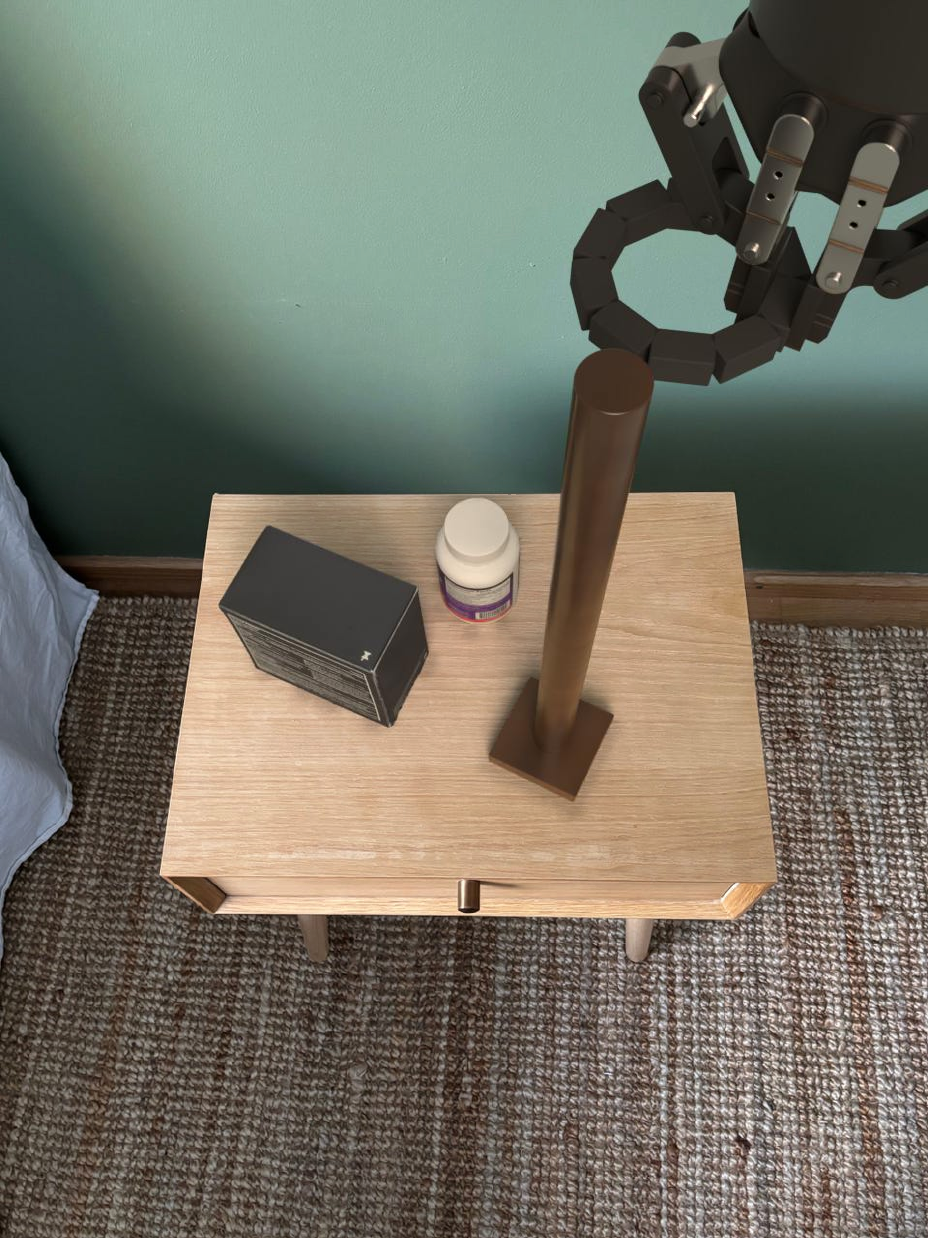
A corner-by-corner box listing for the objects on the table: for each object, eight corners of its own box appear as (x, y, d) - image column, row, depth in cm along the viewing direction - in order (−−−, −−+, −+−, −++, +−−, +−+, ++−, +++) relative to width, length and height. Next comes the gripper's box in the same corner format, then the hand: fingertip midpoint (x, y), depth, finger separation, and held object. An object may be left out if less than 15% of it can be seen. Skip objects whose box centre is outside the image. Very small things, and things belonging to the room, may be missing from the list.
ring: (831, 246, 41) (842, 220, 40) (749, 420, 38) (757, 398, 37) (628, 175, 43) (632, 148, 42) (534, 336, 40) (535, 313, 39)
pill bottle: (456, 546, 73) (451, 475, 64) (529, 569, 72) (533, 501, 63) (428, 612, 71) (418, 549, 62) (502, 637, 70) (503, 577, 61)
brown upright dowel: (612, 721, 68) (745, 341, 31) (573, 802, 66) (668, 498, 29) (529, 682, 69) (565, 273, 32) (489, 761, 67) (478, 419, 30)
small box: (434, 647, 70) (424, 582, 60) (392, 731, 68) (374, 679, 58) (298, 588, 72) (267, 517, 62) (252, 669, 70) (212, 608, 60)
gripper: (1298, -181, 24) (976, 313, 40) (738, -316, 27) (648, 197, 43) (1229, 29, 21) (915, 466, 37) (620, -144, 24) (571, 332, 40)
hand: (773, 321), depth 40 cm, fingers closed on ring, 1 cm apart
